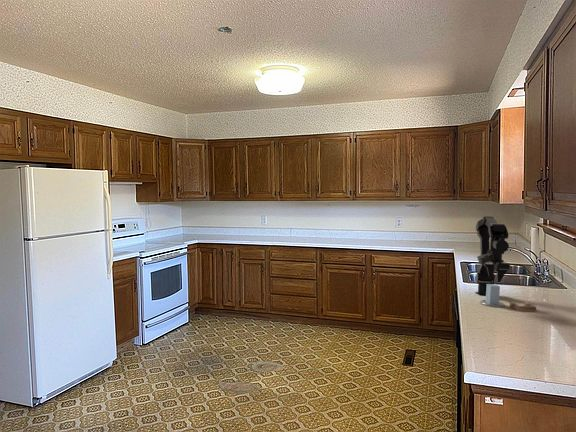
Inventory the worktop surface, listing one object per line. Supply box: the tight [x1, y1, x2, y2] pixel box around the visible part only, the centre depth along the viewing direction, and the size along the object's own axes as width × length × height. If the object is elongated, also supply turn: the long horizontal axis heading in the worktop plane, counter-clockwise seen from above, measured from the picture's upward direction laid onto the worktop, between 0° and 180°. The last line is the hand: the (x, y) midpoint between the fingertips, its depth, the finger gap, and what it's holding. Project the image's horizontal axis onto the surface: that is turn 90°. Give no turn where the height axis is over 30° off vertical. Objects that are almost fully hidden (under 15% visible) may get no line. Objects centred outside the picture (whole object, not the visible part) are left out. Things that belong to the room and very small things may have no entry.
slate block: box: [485, 283, 501, 304], centre depth 223 cm, size 4×4×9 cm
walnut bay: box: [509, 301, 537, 312], centre depth 216 cm, size 8×8×2 cm
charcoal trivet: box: [479, 299, 505, 308], centre depth 223 cm, size 11×11×1 cm
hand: (494, 280), depth 223 cm, fingers open, 9 cm apart
